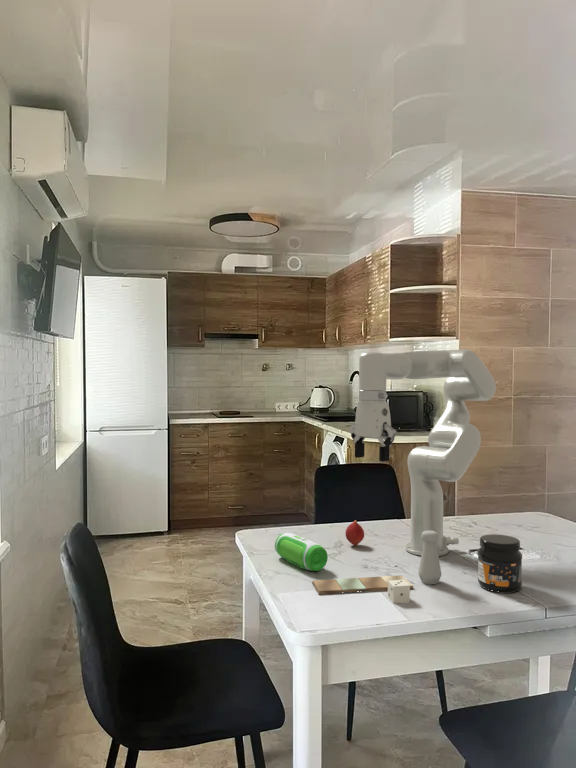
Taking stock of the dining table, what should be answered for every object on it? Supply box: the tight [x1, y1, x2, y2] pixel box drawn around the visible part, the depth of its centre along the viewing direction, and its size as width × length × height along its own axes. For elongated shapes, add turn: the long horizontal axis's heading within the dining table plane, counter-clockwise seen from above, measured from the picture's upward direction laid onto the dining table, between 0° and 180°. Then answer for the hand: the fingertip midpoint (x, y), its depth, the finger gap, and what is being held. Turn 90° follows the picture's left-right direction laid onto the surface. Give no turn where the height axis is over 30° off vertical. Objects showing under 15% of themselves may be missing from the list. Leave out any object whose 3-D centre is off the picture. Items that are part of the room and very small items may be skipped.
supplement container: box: [477, 533, 523, 593], centre depth 148 cm, size 10×10×12 cm
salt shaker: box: [417, 531, 442, 585], centre depth 151 cm, size 6×6×13 cm
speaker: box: [274, 532, 329, 572], centre depth 166 cm, size 18×7×8 cm, turn 33°
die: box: [387, 580, 411, 604], centre depth 140 cm, size 4×4×4 cm
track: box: [311, 575, 414, 596], centre depth 149 cm, size 24×8×1 cm, turn 99°
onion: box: [344, 520, 365, 547], centre depth 184 cm, size 6×6×8 cm
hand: (371, 459), depth 163 cm, fingers open, 9 cm apart
